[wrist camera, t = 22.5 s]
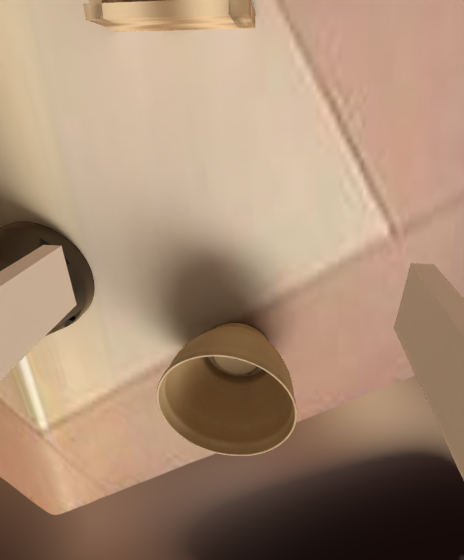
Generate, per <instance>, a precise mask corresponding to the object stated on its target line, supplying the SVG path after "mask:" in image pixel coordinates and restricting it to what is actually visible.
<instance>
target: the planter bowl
mask: <svg viewBox="0 0 464 560" xmlns="http://www.w3.org/2000/svg"><path fill="white" fill-rule="evenodd" d="M157 405H158V408H159V411H160V413H161V415H162V417H163V418H164V420H165V421H166V423H167V424H168V425H169V426H170V428H171V429H172V430H173V431H174V432H176V433H177V434H178V435H179V436H180V437H182V438H183V439H185V440H186V441H188V442H189V443H191V444H193V445H195V446H197V447H199V448H202V449H204V450H207V451H210V452H213V453H218V454H223V455H232V456H233V455H234V456H248V455H255V454H260V453H264V452H267V451H269V450H272V449H274V448H275V447H277V446H279V445H280V444H281V443H283V442H284V441H285V440H286V439H287V438H288V437H289V436H290V434H291V433H292V431H293V429H294V427H295V423H296V418H297V408H296V401H295V398H294V392H293V386H292V381H291V377H290V374H289V371H288V369H287V367H286V365H285V363H284V361H283V359H282V358H281V356H280V354H279V353H278V352H277V350H276V349H275V348H274V347H273V346H272V345H271V344H270V343H269V341H268V340H267V338H266V337H265V336H264V335H263V334H262V333H261V332H260V331H258V330H257V329H255V328H253V327H251V326H249V325H246V324H241V323H227V324H223V325H220V326H218V327H216V328H214V329H213V330H210V331H207V332H205V333H203V334H201V335H199V336H198V337H196V338H194V339H193V340H192V341H190V342H189V343H188V344H187V345H186V346H185V347H184V348H183V349H182V350H181V351H180V352H179V353H178V354H177V356H176V357H175V358H174V360H173V361H172V363H171V365H170V366H169V368H168V369H167V370H166V371H165V373H164V374H163V376H162V378H161V380H160V382H159V384H158V388H157Z"/></svg>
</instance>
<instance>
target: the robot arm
mask: <svg viewBox="0 0 464 560" xmlns="http://www.w3.org/2000/svg"><path fill="white" fill-rule="evenodd" d="M93 296H94V281H93V276H92V273H91V270H90V268H89V266H88V264H87V262H86V260H85V258H84V257H83V256H82V254H81V253H80V252H79V250H78V249H77V248H76V247H75V246H74V245H73V244H72V243H71V242H70V241H69V240H67V239H66V238H65V237H64V236H62V235H61V234H59V233H58V232H56V231H54V230H52V229H50V228H48V227H45V226H43V225H39V224H35V223H29V222H18V223H12V224H9V225H7V226H4V227H2V228H0V380H1V379H2V378H3V377H4V376H5V375H6V374H7V373H8V372H9V371H10V370H11V369H12V368H13V367H14V366H15V365H16V364H17V363H18V362H19V361H20V360H21V359H22V358H23V357H24V356H25V355H26V354H27V353H28V352H29V351H30V350H31V349H32V348H33V347H34V346H36V345H37V344H38V343H39V342H40V341H41V340H42V339H43V338H44V337H45V336H47V335H49V334H51V333H53V332H56V331H58V330H60V329H62V328H64V327H67V326H69V325H71V324H72V323H74V322H75V321H76V320H78V319H79V318H80V317H81V315H82V314H83V313H84V312H85V311H86V310H87V309H88V308H89V306H90V304H91V302H92V300H93ZM394 329H395V331H396V334H397V336H398V338H399V340H400V342H401V345H402V347H403V349H404V351H405V353H406V356H407V358H408V360H409V362H410V364H411V366H412V369H413V371H414V373H415V375H416V377H417V380H418V382H419V384H420V386H421V388H422V390H423V393H424V395H425V397H426V399H427V401H428V404H429V406H430V408H431V410H432V412H433V415H434V417H435V419H436V421H437V423H438V425H439V428H440V430H441V432H442V434H443V436H444V439H445V441H446V443H447V445H448V447H449V449H450V452H451V454H452V456H453V458H454V460H455V463H456V465H457V467H458V469H459V471H460V474H461V476H462V477H463V480H464V298H463V297H462V296H461V295H460V294H459V293H458V291H457V290H456V289H455V288H454V287H453V286H452V285H451V283H450V282H449V281H448V280H447V279H446V278H445V276H444V275H443V274H442V273H441V272H440V271H439V270H438V268H437V267H436V266H435V265H434V264H414V263H411V264H410V268H409V272H408V276H407V280H406V283H405V287H404V291H403V295H402V299H401V303H400V307H399V310H398V314H397V318H396V322H395V326H394Z"/></svg>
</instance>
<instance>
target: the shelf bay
mask: <svg viewBox="0 0 464 560" xmlns="http://www.w3.org/2000/svg"><path fill="white" fill-rule="evenodd" d="M84 10H85V16H86V20H89V21H91V22H94V23H97V24H99V25H102V26H105V27H107V28H110V29H113V30H115V31H118V32H125V31H160V30H196V29H231V28H255V12H254V9H253V7H252V4H251V2H250V0H165V1H140V2H130V0H89V4H84Z"/></svg>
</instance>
